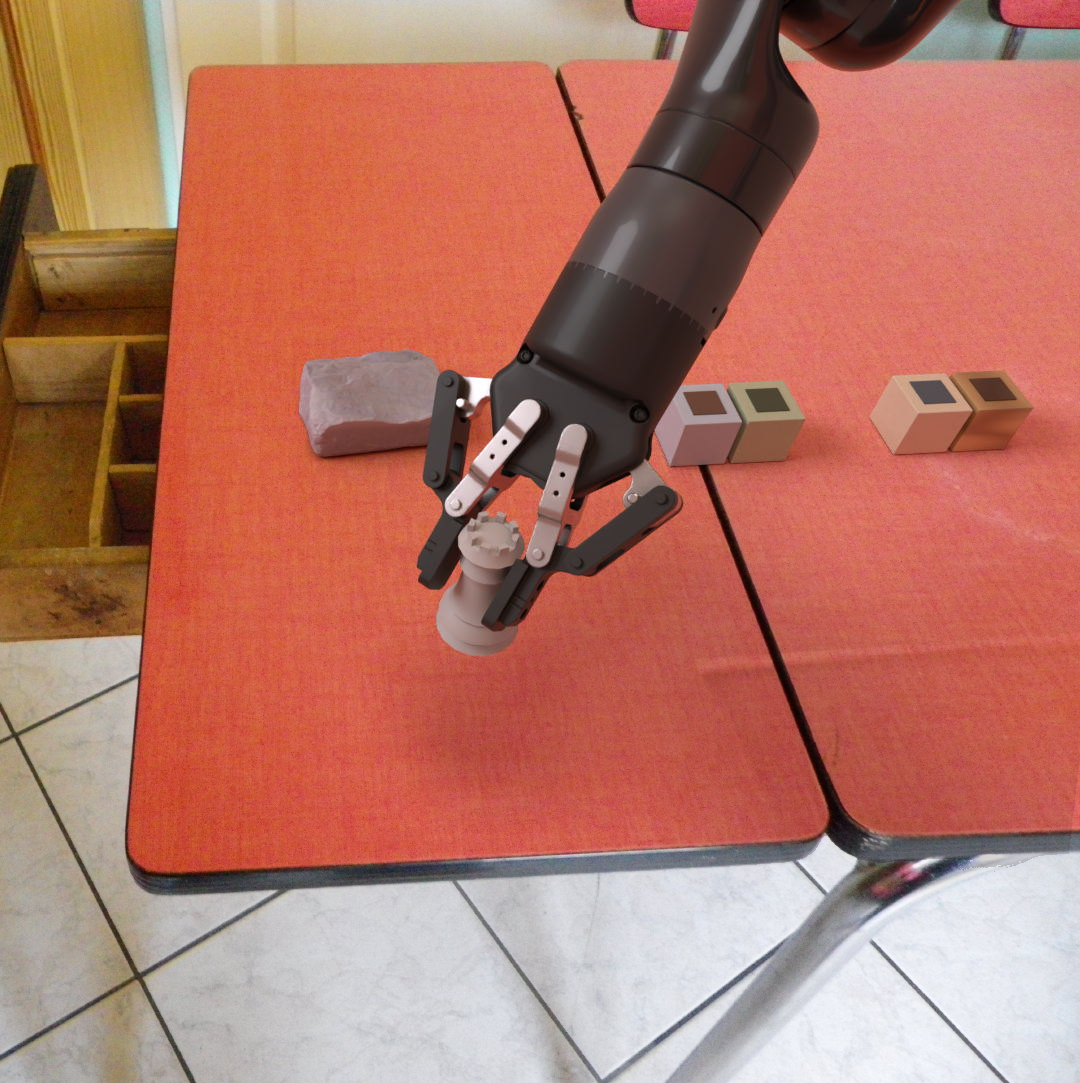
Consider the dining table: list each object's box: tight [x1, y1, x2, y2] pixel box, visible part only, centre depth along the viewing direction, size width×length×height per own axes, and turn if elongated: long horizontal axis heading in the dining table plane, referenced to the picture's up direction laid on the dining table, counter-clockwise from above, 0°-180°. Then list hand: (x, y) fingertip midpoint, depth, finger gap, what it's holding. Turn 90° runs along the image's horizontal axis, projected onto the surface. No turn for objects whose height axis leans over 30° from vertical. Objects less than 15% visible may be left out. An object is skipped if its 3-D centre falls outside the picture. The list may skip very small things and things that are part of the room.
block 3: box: [869, 372, 973, 456], centre depth 79 cm, size 4×4×5 cm
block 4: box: [948, 369, 1034, 452], centre depth 80 cm, size 4×4×5 cm
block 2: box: [726, 380, 806, 464], centre depth 78 cm, size 4×4×5 cm
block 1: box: [654, 382, 742, 467], centre depth 78 cm, size 4×4×5 cm
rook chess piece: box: [435, 510, 526, 657], centre depth 51 cm, size 4×4×8 cm
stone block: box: [298, 349, 441, 458], centre depth 80 cm, size 12×5×10 cm
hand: (461, 605), depth 50 cm, fingers closed on rook chess piece, 3 cm apart
